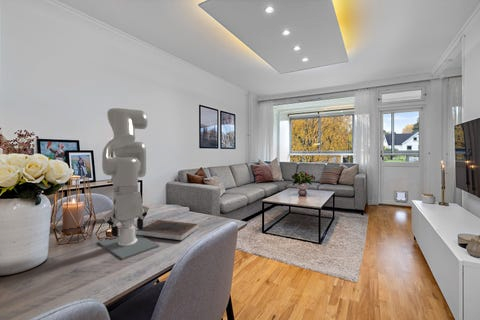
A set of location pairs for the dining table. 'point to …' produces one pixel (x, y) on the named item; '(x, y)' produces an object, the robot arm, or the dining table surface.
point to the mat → (128, 247)
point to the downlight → (127, 232)
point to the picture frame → (168, 229)
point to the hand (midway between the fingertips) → (127, 232)
